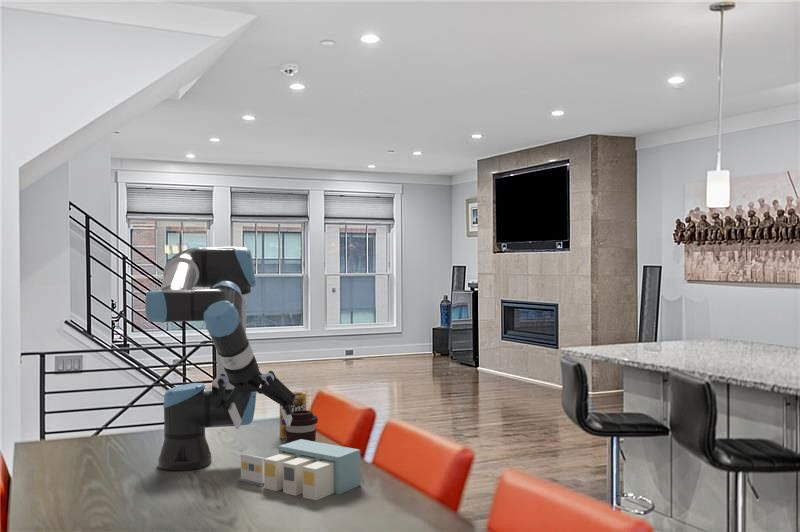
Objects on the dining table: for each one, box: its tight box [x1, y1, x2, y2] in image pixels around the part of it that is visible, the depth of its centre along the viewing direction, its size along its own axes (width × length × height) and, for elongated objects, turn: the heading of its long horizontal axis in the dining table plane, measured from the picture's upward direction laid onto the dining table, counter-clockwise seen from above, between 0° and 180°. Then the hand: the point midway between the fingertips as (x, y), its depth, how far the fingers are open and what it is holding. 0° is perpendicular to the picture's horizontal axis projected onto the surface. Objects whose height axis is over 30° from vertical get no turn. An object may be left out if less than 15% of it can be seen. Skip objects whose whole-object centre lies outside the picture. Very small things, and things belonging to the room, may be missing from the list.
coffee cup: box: [284, 409, 319, 444], centre depth 218 cm, size 10×10×15 cm
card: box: [237, 453, 265, 487], centre depth 199 cm, size 8×3×7 cm, turn 55°
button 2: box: [302, 459, 335, 501], centre depth 188 cm, size 4×10×8 cm, turn 145°
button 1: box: [263, 452, 296, 492], centre depth 196 cm, size 4×10×8 cm, turn 145°
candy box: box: [279, 390, 307, 440], centre depth 250 cm, size 9×4×15 cm, turn 102°
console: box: [277, 439, 362, 495], centre depth 198 cm, size 21×9×10 cm, turn 55°
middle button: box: [282, 455, 315, 497], centre depth 192 cm, size 4×10×8 cm, turn 145°
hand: (264, 423), depth 185 cm, fingers open, 13 cm apart
